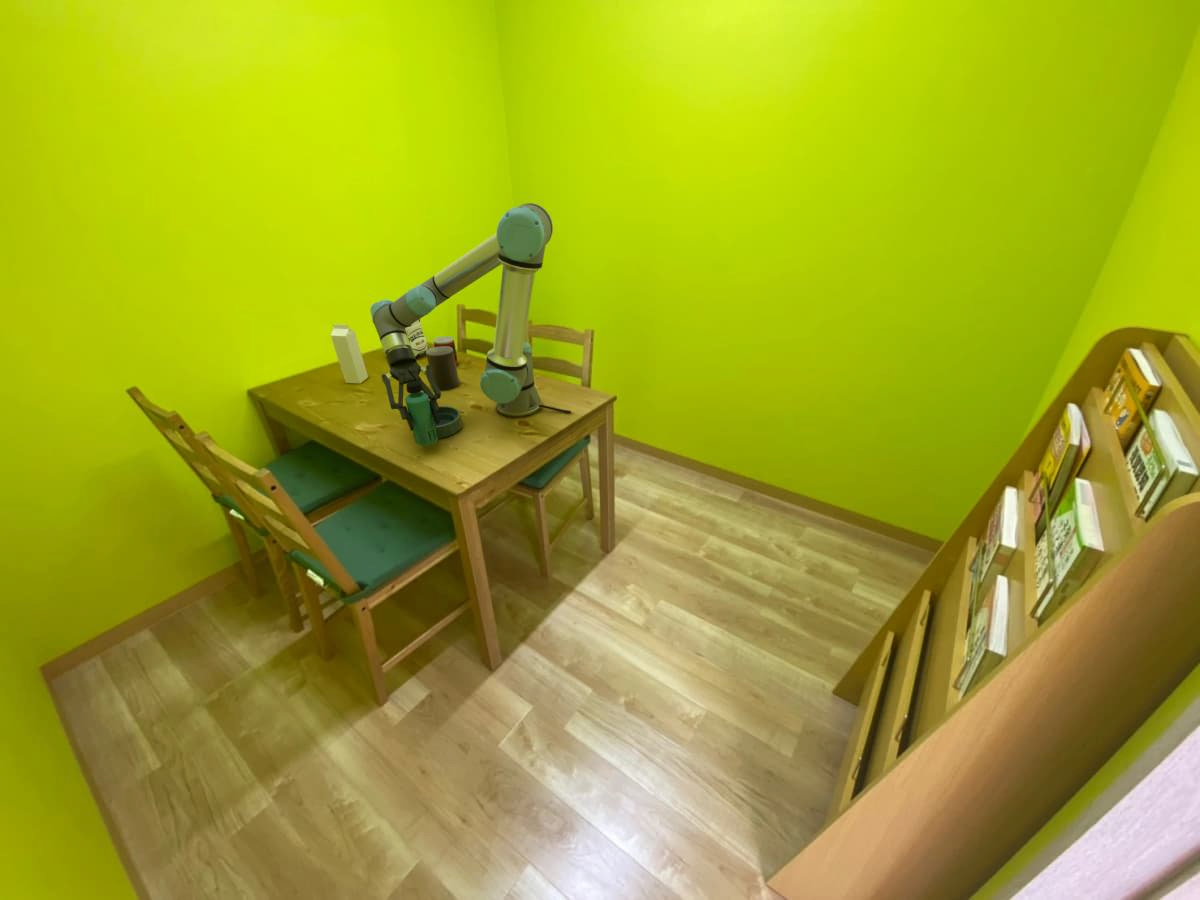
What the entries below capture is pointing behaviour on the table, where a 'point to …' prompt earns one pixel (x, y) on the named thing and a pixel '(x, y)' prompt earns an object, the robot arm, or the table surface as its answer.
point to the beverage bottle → (421, 415)
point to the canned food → (446, 344)
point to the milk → (348, 354)
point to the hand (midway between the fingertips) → (425, 425)
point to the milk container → (417, 338)
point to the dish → (448, 421)
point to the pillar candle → (443, 367)
